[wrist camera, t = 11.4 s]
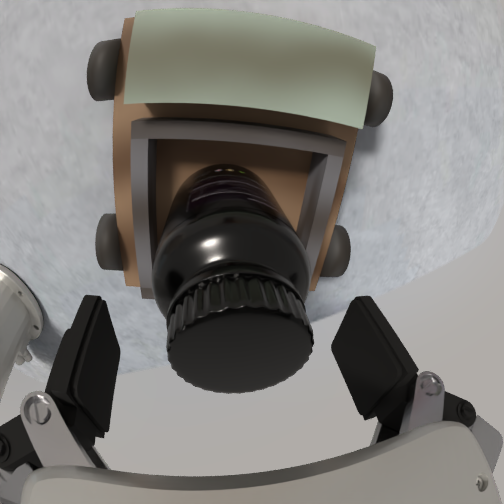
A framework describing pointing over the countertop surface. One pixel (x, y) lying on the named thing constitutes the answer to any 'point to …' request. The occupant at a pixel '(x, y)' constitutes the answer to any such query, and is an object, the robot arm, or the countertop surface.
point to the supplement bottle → (232, 284)
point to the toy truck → (232, 122)
